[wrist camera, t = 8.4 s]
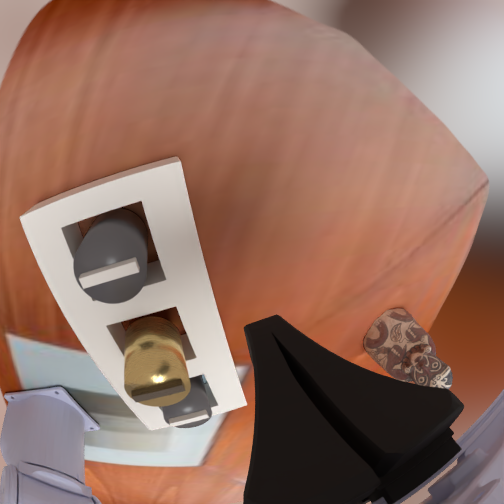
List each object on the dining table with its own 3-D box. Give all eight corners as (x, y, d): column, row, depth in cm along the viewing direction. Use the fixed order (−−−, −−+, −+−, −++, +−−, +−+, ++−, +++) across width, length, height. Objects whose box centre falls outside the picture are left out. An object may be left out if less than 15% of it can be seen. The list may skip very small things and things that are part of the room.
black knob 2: (167, 393, 24) (174, 436, 20) (151, 368, 22) (156, 414, 18) (205, 383, 25) (218, 425, 20) (194, 357, 23) (206, 402, 19)
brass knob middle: (138, 363, 19) (141, 417, 15) (116, 324, 17) (112, 380, 13) (187, 350, 20) (200, 403, 15) (170, 310, 18) (179, 364, 14)
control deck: (147, 407, 25) (150, 430, 22) (37, 203, 14) (19, 217, 12) (238, 382, 27) (247, 404, 24) (177, 156, 16) (180, 160, 14)
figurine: (401, 296, 30) (472, 355, 20) (408, 325, 34) (465, 378, 23) (357, 335, 30) (422, 407, 20) (369, 359, 34) (422, 421, 23)
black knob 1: (102, 272, 17) (90, 316, 13) (81, 219, 15) (59, 251, 11) (155, 256, 18) (157, 297, 14) (138, 200, 16) (131, 226, 12)
